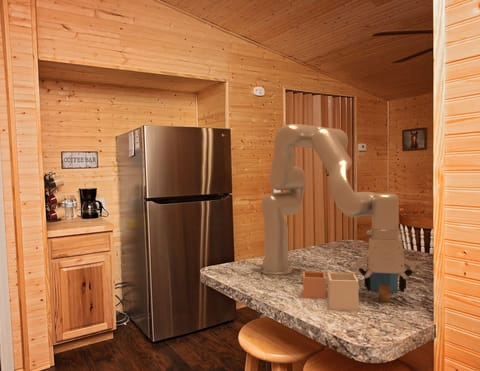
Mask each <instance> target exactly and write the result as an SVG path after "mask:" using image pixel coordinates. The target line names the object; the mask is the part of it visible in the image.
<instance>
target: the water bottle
mask: <svg viewBox="0 0 480 371" xmlns="http://www.w3.org/2000/svg"><path fill="white" fill-rule="evenodd" d="M368 238H369V239H370V238H372V236H371V235H368ZM369 239H368V240H369ZM398 275H399V274H389V273H372V274H371V275H370V276H369V277H370V291H371V290H372V291H374V292H377V293H379V284H388V285H390V294H391V293H395V292H398V291H399V276H398Z"/></svg>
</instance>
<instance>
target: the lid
mask: <svg viewBox="0 0 480 371" xmlns="http://www.w3.org/2000/svg"><path fill="white" fill-rule="evenodd" d="M378 301H379V302H380V303H385V304H388V303H390V302H391V293H390V285H388V284H379V292H378Z"/></svg>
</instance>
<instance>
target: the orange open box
mask: <svg viewBox="0 0 480 371" xmlns="http://www.w3.org/2000/svg"><path fill="white" fill-rule="evenodd" d="M302 291H303V292H302V298H303V299H319V300H320V299H321V300H323V299H325V300H326V299H327V277H326V272H325V271H302Z"/></svg>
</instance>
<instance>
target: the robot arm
mask: <svg viewBox="0 0 480 371" xmlns="http://www.w3.org/2000/svg"><path fill="white" fill-rule="evenodd" d="M273 145H274V146H273V157H272V162H271V166H270V167H271V168H270V174H269V186H270V187H271V188H272V189H273V190H275V191H279V192H271V193H268V194H266V195H264V196H263V198H262V199H261V203H260V205H261V206H260V207H261V212H262V213H261V214H262V219H263V235H264V237H263V241H264V242H263V243H264V245H263V246H264V247H263V248H264V252H263V253H264V254H263V255H264V258H263V259H261V260H253V266H256V267H260V272H261V273H262V274H265V275H267V276H268V275H269V276H286V275H291V273H293V267H291V266H289V226H288V223H287V221H286V219H285V216H290V215H291V216H292V215H296V214H297V213H299V211H300V210H301V208H302V204H303V200H304V194H305V190H306V185H307V175H306V172H305V170H304V169H303V168H301V167H300V166H297V165H295V164H296V163H295V162H296V152H295V149H294V148H300V149H301V148H302V149H313V150H314V151H315V153H316V154H317V156H318V158H319V160H320V162H321V163H322V164H323V166H324V168H325V169H326V172H327V173H328V188H329V193H330V195H331V197H332V199H333V201H334V203H335V204H336V206H337V208H338V209H339V210H340V211H341V213H342V214H344V216H346V217H349V218H357V217H363V216H371V229H370V230H366V235H367V236H369V235H371V236H372V238H370V239H368V245H367V255H366V256H365V257H363V258H361V259H358V260H356V261H355V262H354V264H355V266H356V268H357V269H358V271H359V273H360V274H361V275H362V276H363V279H364V284H363V285H364V288H366V290H367V291H368V292H370V291H371V289H370V277H369V276H370V275H371V274H372V273H389V274H398V275H400V276H398V290H399V291H400V292H401V293H405V290H406V289H407V279H408V278H409V277H410V276H411V275H412V274H413V272H414V270H415V269H416V266H417V264H415V262H413V261H410V260H408V259H406V258H405V254H404V245H403V240H402V239H401V238H399V237H400V236H399V233H400V232H399V221H400V218H399V217H400V216H399V209H400V206H399V205H400V204H399V200H400V199H399V197H398V195H397V194H395V193H384V192H382V193H377V192H371V191H359V192H358V191H356V192H355V191H354V189H353V188H352V186H351V184H350V182H349V180H348V178H347V172H348V170H349V169H350V168H351V167H352V164H353V161H352V159H351V157H350V156H349V154H348V152H347V151H346V149H347V148H348V146H349V138H348V135H347V133H346V132H345V131H343V130H342V129H341V128H340V129H338V128H332V127H331V128H330V127H324V126H319V125H318V126H317V125H311V124H310V125H309V124H299V123H290V124H286V125H283V126H281V127H280V128H279V129H278V130H277V132H276V134H275V136H274V142H273ZM364 264H366V267H367V268H366V269H364V268H363V267H362V265H364ZM405 265H407V266H408V268H406V270H405Z"/></svg>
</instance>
